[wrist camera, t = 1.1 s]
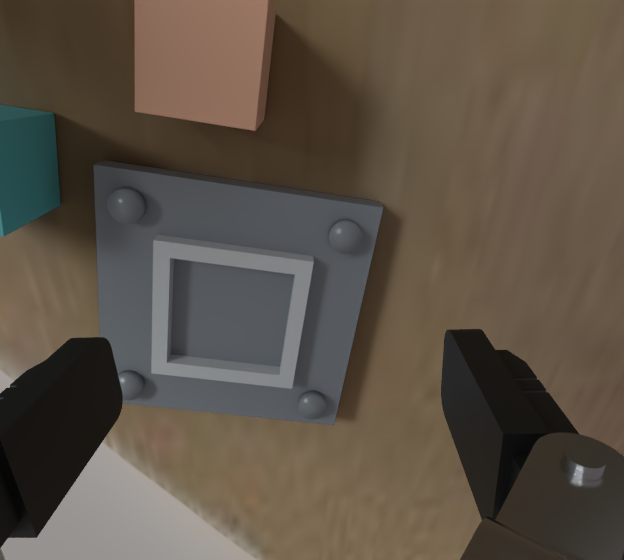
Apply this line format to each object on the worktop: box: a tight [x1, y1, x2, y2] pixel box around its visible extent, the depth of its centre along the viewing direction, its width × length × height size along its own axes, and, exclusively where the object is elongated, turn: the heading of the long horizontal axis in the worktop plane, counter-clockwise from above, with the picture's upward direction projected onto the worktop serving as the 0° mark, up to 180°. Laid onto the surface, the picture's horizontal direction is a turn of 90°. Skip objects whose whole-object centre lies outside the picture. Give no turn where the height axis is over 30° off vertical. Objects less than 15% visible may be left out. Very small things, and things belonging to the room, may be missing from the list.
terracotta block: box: [135, 0, 276, 131], centre depth 22 cm, size 6×6×6 cm
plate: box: [93, 160, 383, 425], centre depth 30 cm, size 17×17×2 cm
